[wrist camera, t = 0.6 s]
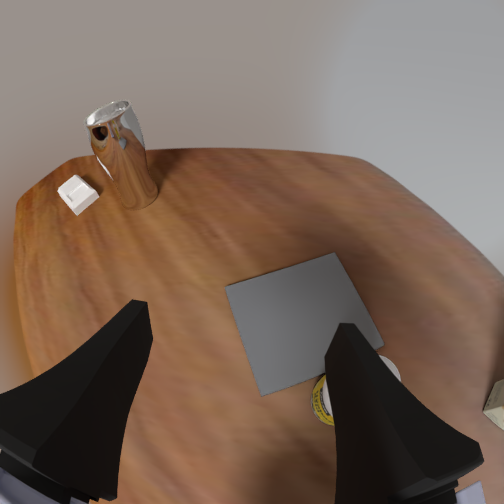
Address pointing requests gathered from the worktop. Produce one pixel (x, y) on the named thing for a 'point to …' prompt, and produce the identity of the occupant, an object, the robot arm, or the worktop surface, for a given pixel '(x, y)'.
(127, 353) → the robot arm
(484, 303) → the worktop surface
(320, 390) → the supplement bottle
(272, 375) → the mat
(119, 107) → the beer glass
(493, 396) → the skincare box
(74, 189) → the soap bar
